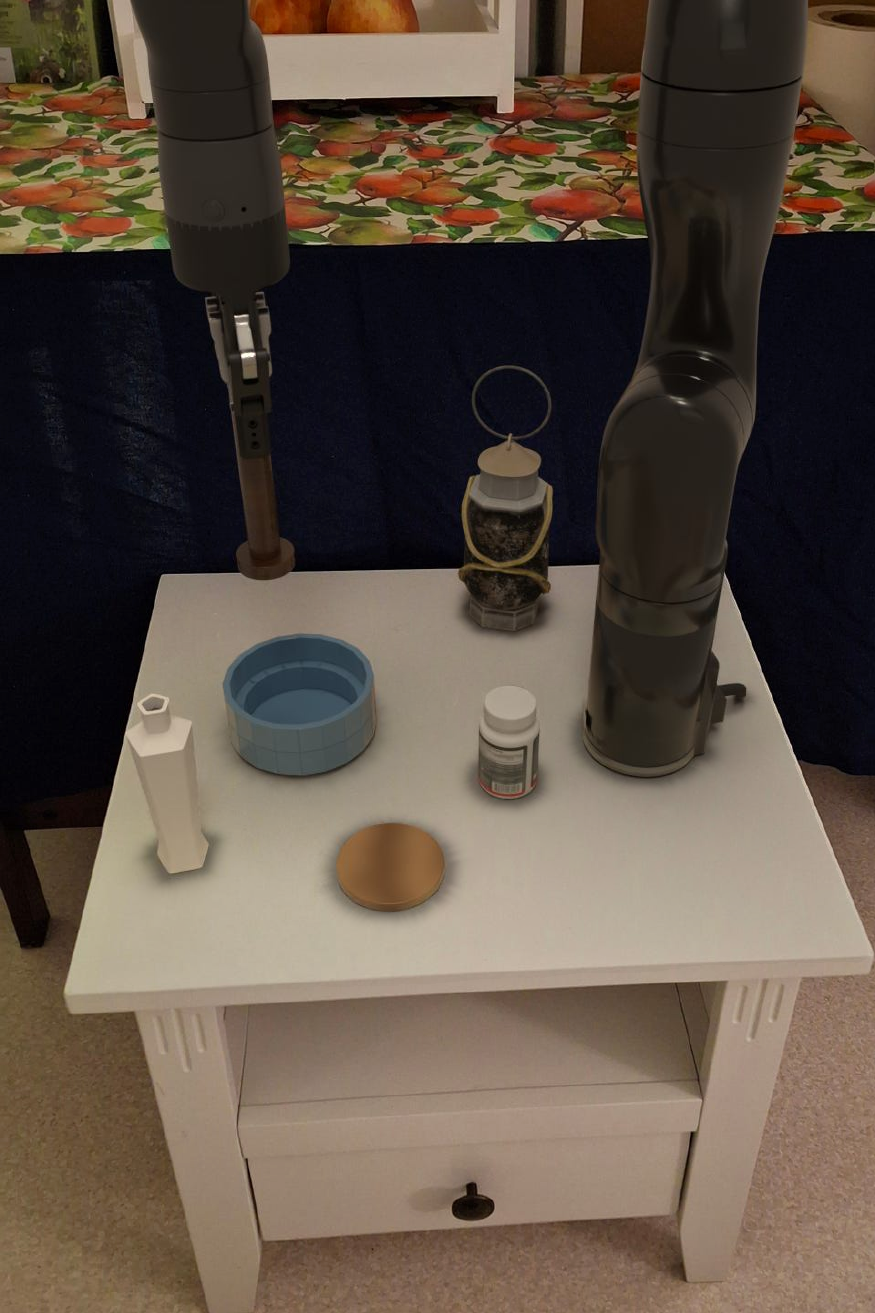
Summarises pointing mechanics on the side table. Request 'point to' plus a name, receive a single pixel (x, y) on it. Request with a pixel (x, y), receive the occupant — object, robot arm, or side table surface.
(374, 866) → the coaster
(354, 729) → the bowl
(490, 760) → the pill bottle
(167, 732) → the perfume bottle
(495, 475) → the lantern
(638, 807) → the side table surface
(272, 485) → the brown wooden peg
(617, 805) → the side table surface
